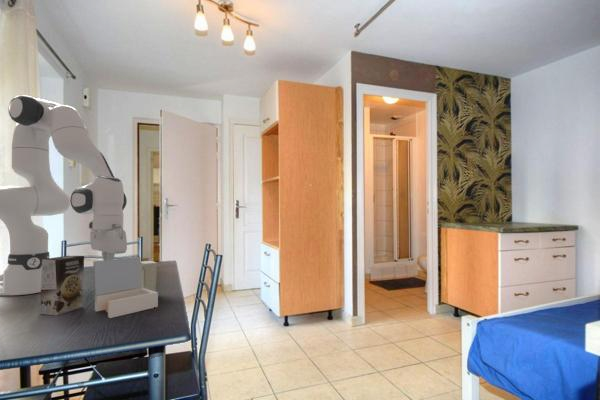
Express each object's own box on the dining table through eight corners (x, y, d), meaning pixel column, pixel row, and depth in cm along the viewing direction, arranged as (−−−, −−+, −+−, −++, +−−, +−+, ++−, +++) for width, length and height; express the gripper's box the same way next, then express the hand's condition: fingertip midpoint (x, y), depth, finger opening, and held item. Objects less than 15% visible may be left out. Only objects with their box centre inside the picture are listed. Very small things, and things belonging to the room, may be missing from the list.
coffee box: (57, 316, 95) (58, 259, 96) (39, 314, 96) (40, 258, 97) (84, 306, 104) (85, 255, 104) (66, 305, 105) (68, 254, 106)
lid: (96, 295, 100) (94, 295, 101) (142, 287, 111) (140, 287, 112) (94, 261, 101) (92, 261, 102) (140, 256, 112) (138, 256, 113)
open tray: (94, 310, 100) (94, 295, 100) (140, 300, 111) (141, 287, 111) (110, 318, 93) (110, 302, 93) (157, 306, 104) (157, 292, 104)
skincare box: (138, 295, 117) (138, 261, 118) (151, 293, 120) (152, 260, 121) (142, 299, 112) (143, 263, 113) (156, 297, 115) (157, 262, 116)
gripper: (132, 224, 108) (131, 267, 107) (106, 223, 121) (105, 261, 120) (111, 225, 103) (111, 269, 102) (86, 223, 116) (86, 263, 115)
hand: (107, 265), depth 111 cm, fingers closed
